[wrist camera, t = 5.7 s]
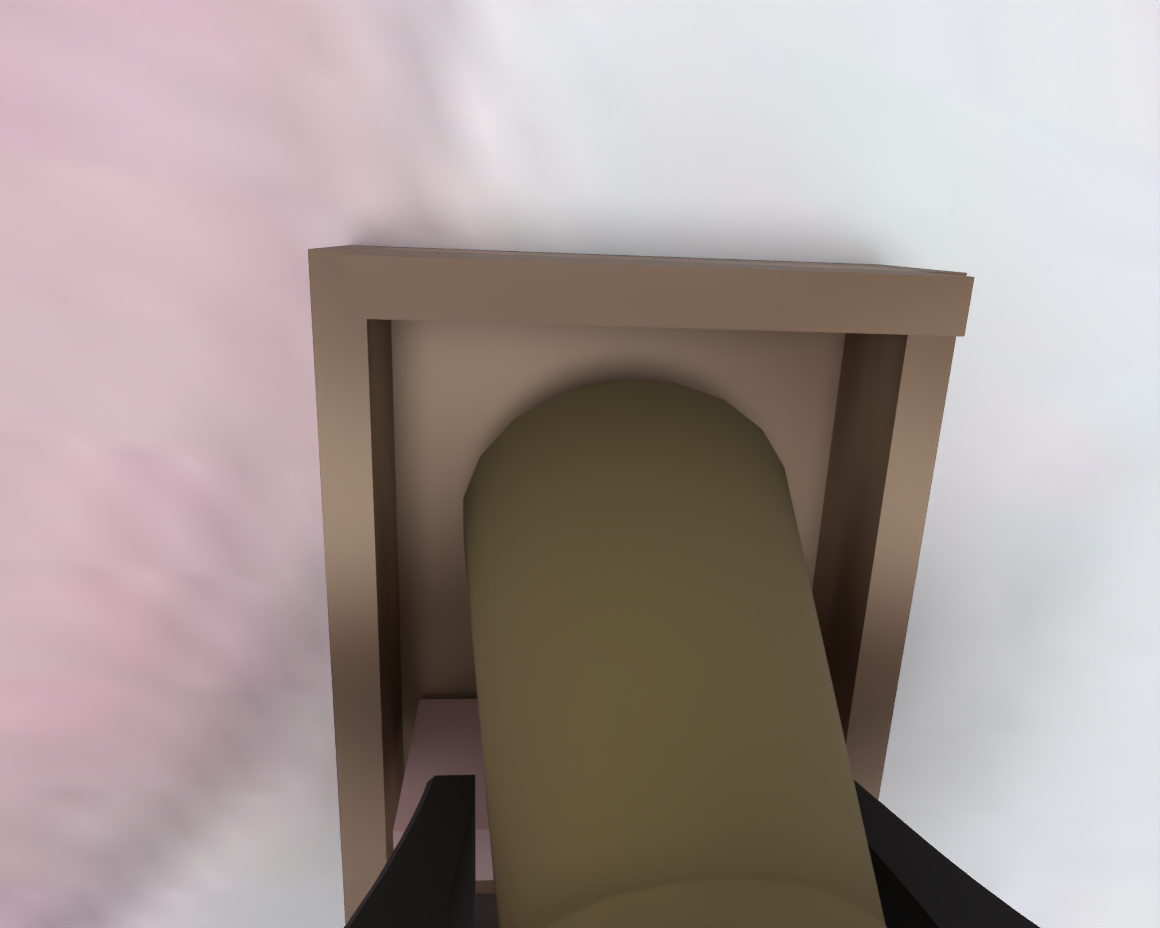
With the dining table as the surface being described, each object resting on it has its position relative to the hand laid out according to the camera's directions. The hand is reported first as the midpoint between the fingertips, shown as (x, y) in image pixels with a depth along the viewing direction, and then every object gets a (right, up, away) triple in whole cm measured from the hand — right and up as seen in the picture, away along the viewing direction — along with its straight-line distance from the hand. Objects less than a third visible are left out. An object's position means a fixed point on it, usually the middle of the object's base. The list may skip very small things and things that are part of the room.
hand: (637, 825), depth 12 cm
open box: (0, +2, +5) cm, 5 cm away
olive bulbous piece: (0, +5, +3) cm, 5 cm away
